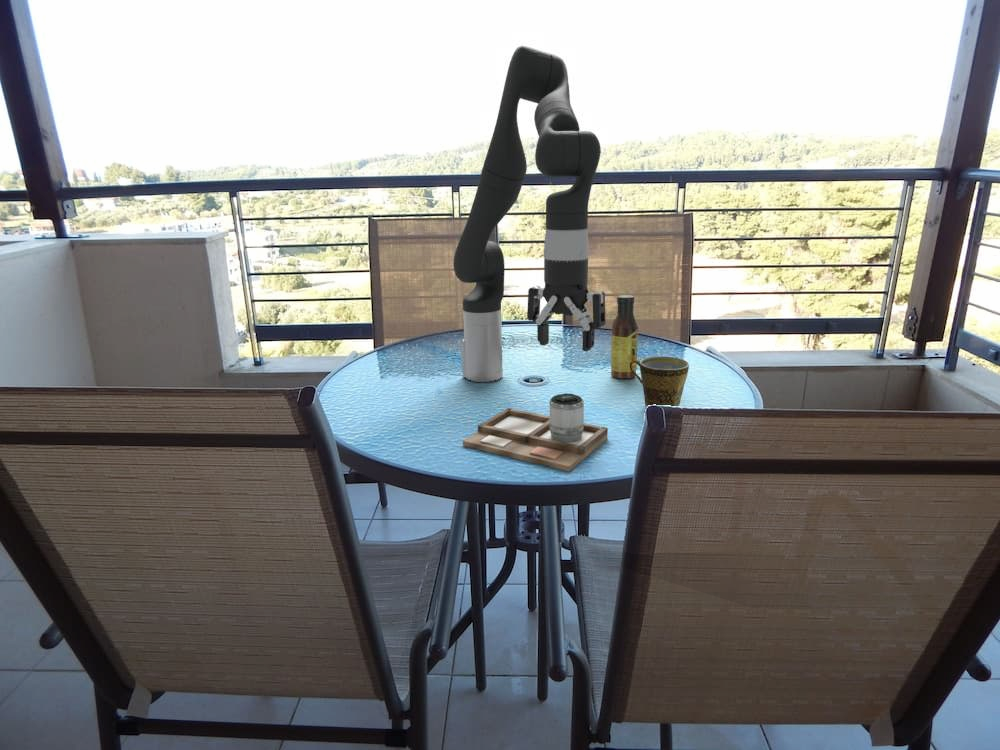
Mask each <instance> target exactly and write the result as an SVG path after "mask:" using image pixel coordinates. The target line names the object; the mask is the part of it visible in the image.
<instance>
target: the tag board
mask: <svg viewBox="0 0 1000 750" xmlns="http://www.w3.org/2000/svg"><path fill="white" fill-rule="evenodd" d="M583 425H584V428H583V433H582V437H581V439H580V440H578V441H575V442H560V441H556V440H554V439H553V438H552V437H551V433H550V415H544V414H539V413H536V412H530V411H529V412H528V411H526V410H525V411H524V410H520V409H515V408H509V407H508V408H505V409H504V410H502V411H500V412H499V413H497V414H496V415H494V416H492V417H490V418H488V419H487V420H485V421H484V422H482V423H480V424H478V425H477V431H476V432H475V433H473V434H472V435H470V436H468V437H467V438H464V439H463V440H462V446H464V447H468V448H472V449H474V450H475V449H476V450H479V451H484V452H488V453H490V454H496V455H499V456H504V457H508V458H512V459H516V460H521V461H524V462H529V463H532V464H536V465H540V466H545V467H548V468H549V467H550V468H552V469H557V470H561V471H566V472H568V473H569V472H571V471H572V470H573V469H575V468H576V467H577V466H578V465H580V463H582V462H583V460H584V459H586V458H587V457H588V456H589V455H591V453H593V452H594V451H595V450H596V449H597V448H598V447H600V446H601V445H602V444H603V443H604V442H606V440H608V430H609V429H608V427H606V426H600V425H595V424H590V423H584V422H583Z"/></svg>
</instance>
